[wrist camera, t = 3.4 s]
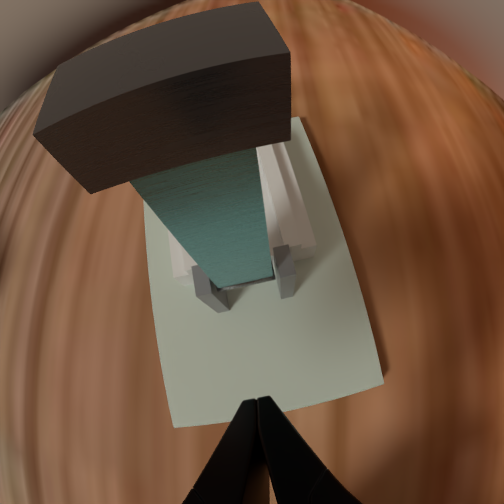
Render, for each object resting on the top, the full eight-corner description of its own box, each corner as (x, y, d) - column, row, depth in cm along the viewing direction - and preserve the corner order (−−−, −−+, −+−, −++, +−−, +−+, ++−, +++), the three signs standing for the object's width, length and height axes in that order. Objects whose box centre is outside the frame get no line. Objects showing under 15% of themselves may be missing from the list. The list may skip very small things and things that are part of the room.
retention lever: (286, 287, 16) (290, 52, 4) (212, 303, 16) (32, 134, 4) (278, 252, 17) (258, 1, 4) (206, 268, 17) (57, 65, 4)
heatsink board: (379, 382, 19) (416, 390, 12) (178, 425, 19) (139, 446, 13) (297, 121, 26) (298, 67, 20) (146, 158, 26) (117, 111, 20)
